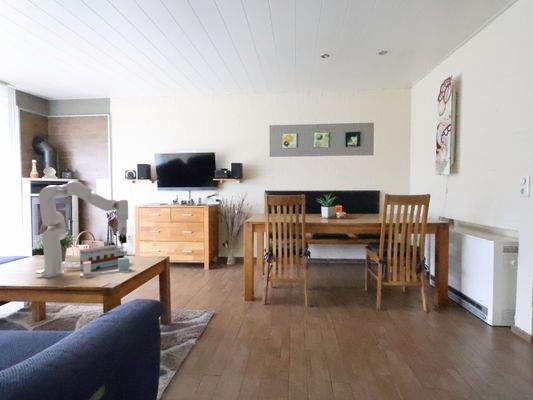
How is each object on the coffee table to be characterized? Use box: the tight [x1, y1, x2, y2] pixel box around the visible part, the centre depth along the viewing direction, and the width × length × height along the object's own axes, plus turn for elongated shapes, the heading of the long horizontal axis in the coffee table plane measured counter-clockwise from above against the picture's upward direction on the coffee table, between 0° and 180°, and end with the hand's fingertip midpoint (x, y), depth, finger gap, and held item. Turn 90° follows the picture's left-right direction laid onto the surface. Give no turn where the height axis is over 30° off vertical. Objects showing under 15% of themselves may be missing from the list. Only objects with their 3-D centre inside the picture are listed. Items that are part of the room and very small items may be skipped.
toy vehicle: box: [79, 244, 128, 271], centre depth 224 cm, size 8×30×15 cm, turn 143°
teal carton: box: [117, 256, 130, 271], centre depth 212 cm, size 4×7×8 cm, turn 122°
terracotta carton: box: [82, 261, 92, 275], centre depth 200 cm, size 4×7×8 cm
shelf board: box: [79, 267, 132, 278], centre depth 206 cm, size 30×11×2 cm, turn 122°
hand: (123, 242), depth 212 cm, fingers open, 9 cm apart
